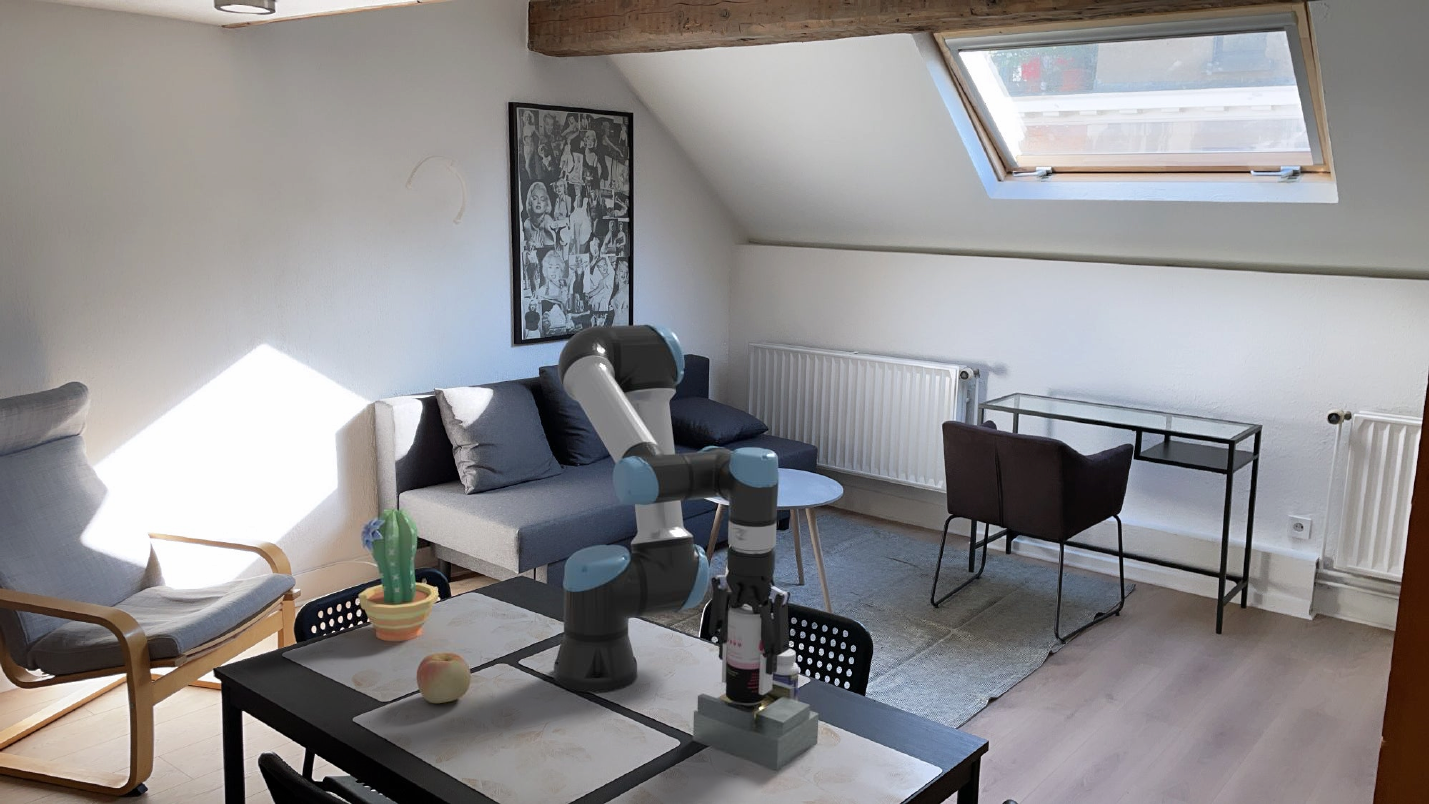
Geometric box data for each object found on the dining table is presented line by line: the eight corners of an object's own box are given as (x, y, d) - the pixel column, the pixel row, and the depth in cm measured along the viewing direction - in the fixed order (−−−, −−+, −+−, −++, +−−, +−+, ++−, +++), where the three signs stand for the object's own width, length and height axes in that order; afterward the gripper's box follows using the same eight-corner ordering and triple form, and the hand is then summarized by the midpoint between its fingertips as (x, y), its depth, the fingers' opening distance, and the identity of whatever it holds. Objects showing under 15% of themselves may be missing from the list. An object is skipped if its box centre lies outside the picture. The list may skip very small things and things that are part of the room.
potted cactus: (367, 619, 226) (364, 500, 221) (444, 618, 227) (442, 500, 223) (351, 648, 210) (347, 521, 206) (433, 646, 212) (431, 521, 208)
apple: (408, 700, 189) (407, 655, 187) (452, 685, 195) (451, 642, 194) (436, 716, 183) (436, 670, 182) (481, 700, 189) (481, 656, 188)
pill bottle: (795, 708, 190) (797, 659, 188) (765, 704, 191) (766, 656, 189) (799, 695, 195) (801, 648, 193) (769, 692, 196) (771, 644, 194)
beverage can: (755, 686, 181) (758, 599, 179) (773, 702, 175) (776, 612, 173) (719, 692, 179) (721, 603, 176) (735, 708, 173) (738, 617, 170)
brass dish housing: (691, 741, 177) (692, 694, 175) (737, 714, 187) (738, 669, 186) (775, 772, 167) (777, 722, 166) (818, 741, 178) (820, 694, 176)
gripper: (687, 540, 176) (684, 677, 179) (791, 565, 165) (785, 710, 168) (715, 530, 182) (711, 663, 185) (817, 553, 171) (810, 694, 174)
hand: (746, 685), depth 177 cm, fingers closed on beverage can, 6 cm apart
